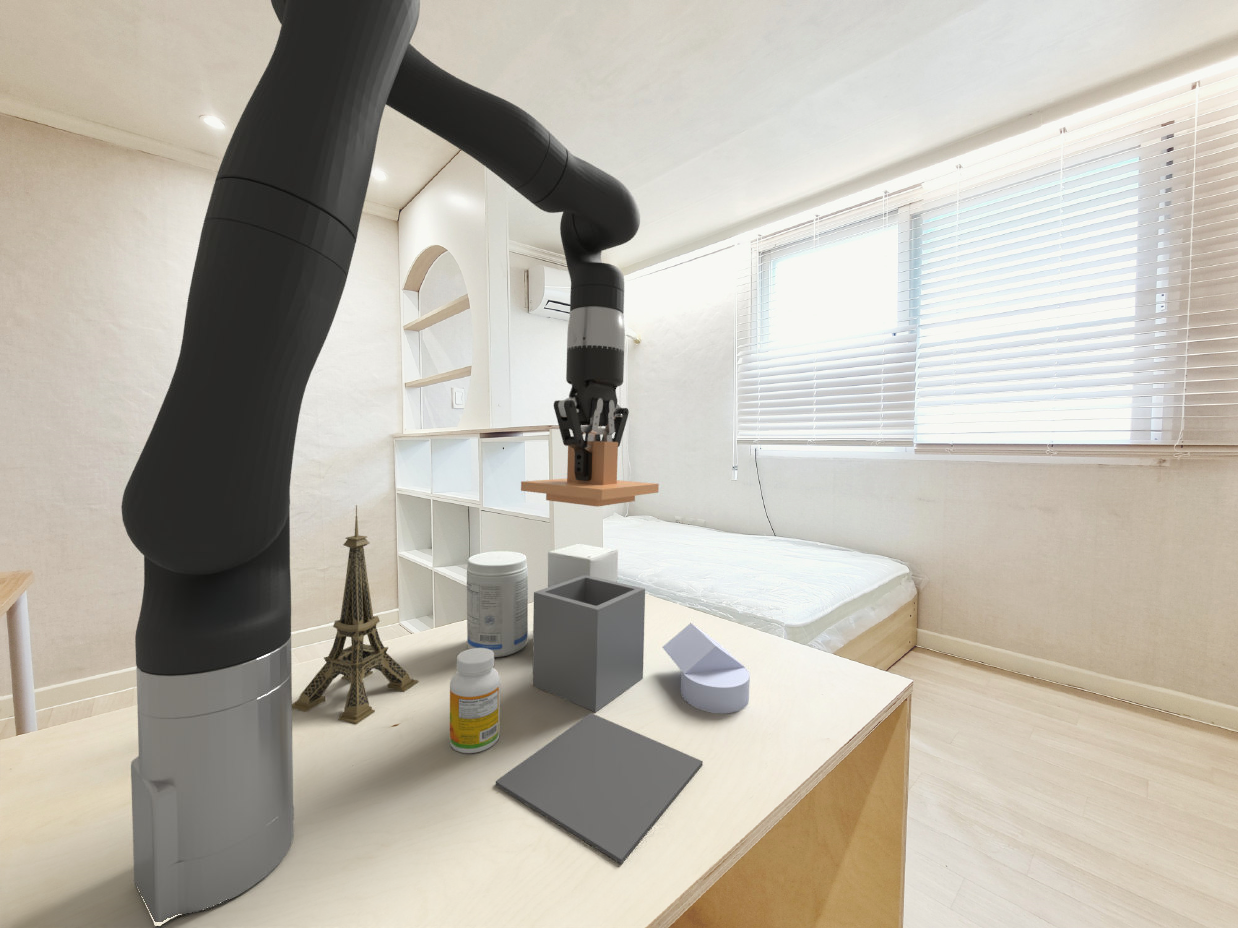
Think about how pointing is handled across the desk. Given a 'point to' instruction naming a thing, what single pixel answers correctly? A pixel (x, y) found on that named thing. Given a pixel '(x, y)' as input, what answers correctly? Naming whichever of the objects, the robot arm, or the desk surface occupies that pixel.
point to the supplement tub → (497, 602)
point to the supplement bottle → (474, 702)
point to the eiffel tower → (355, 645)
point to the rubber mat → (602, 783)
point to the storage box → (588, 640)
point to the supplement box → (581, 563)
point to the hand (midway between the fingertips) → (591, 479)
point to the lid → (592, 481)
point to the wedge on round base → (708, 672)
